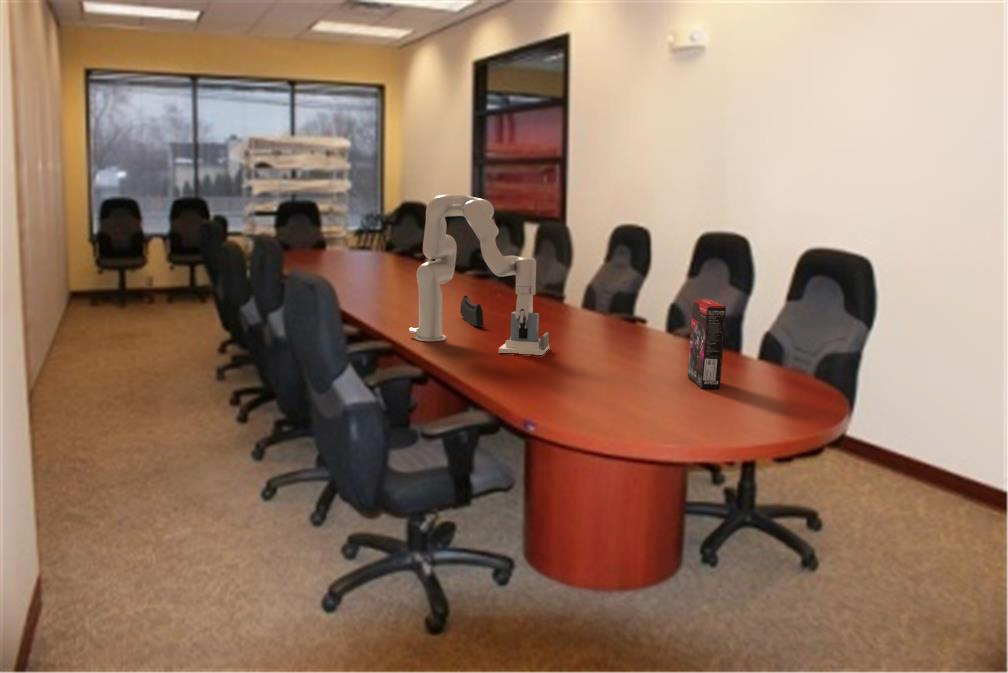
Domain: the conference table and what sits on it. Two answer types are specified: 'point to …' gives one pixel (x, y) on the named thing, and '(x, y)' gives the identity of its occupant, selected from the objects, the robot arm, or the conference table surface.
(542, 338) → the cream railed panel
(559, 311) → the conference table surface
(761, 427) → the conference table surface
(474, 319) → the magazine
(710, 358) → the graphics card box
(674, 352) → the conference table surface
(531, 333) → the gray rectangular block
